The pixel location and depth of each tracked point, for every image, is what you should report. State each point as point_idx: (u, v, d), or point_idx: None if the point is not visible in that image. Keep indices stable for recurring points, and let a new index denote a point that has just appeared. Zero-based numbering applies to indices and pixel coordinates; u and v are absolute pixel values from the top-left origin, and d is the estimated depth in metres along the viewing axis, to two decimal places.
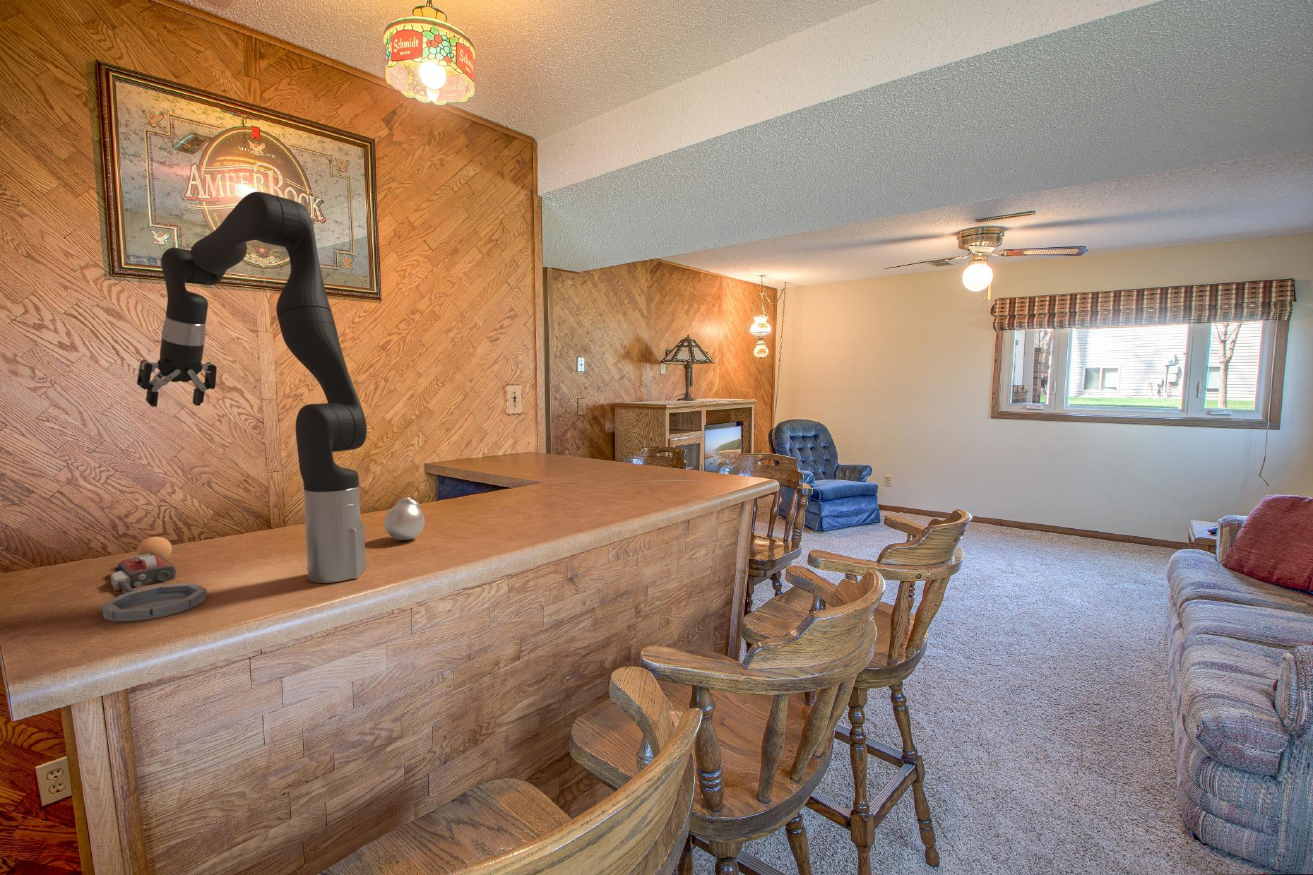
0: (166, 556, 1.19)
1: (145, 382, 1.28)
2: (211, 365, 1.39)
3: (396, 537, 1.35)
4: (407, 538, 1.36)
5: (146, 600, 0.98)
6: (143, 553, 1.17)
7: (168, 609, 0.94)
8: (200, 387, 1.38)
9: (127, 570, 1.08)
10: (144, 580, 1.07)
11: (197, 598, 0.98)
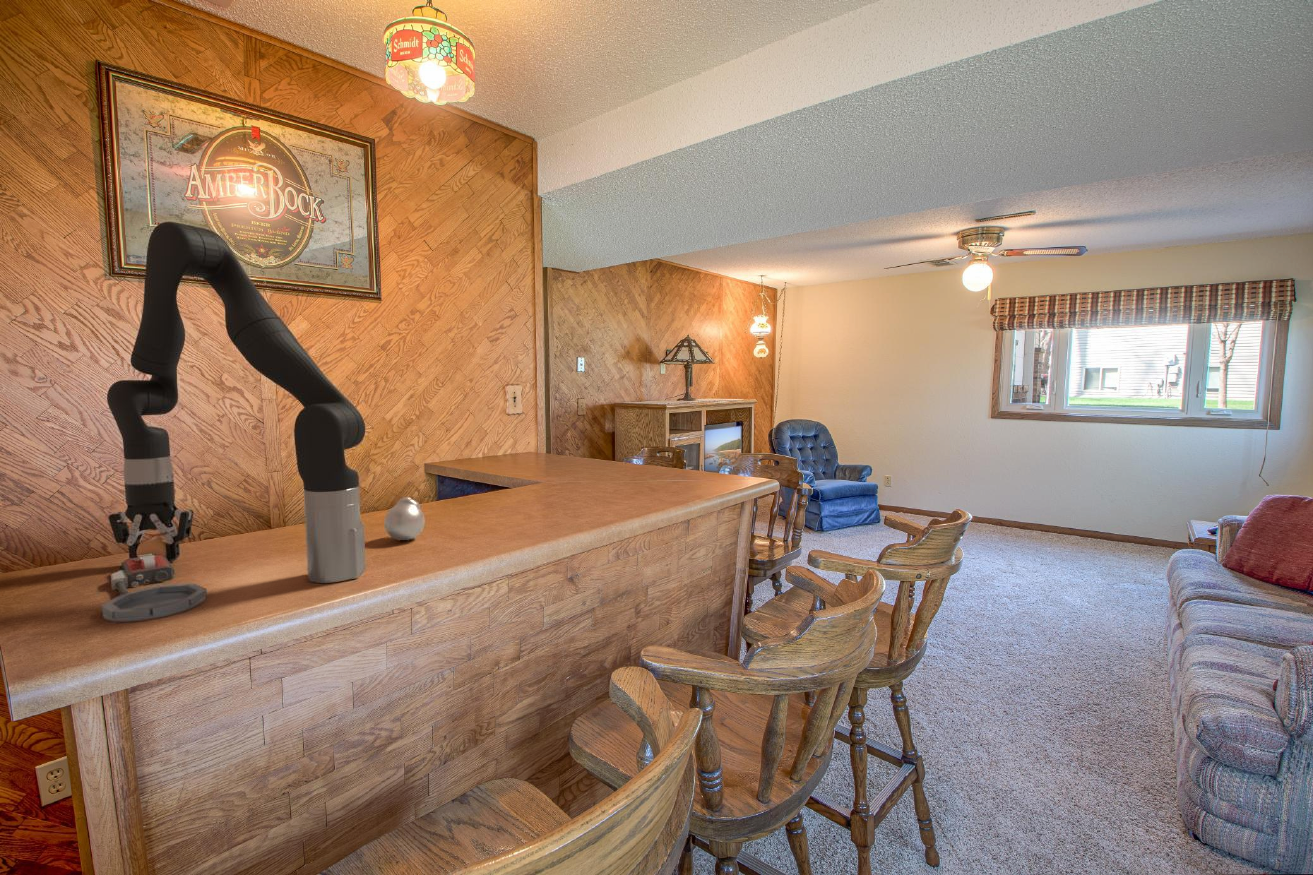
0: (166, 556, 1.19)
1: (117, 535, 1.17)
2: (184, 511, 1.19)
3: (396, 537, 1.35)
4: (407, 538, 1.36)
5: (146, 600, 0.98)
6: (143, 553, 1.17)
7: (168, 609, 0.94)
8: (166, 538, 1.18)
9: (127, 570, 1.08)
10: (142, 580, 1.07)
11: (197, 598, 0.98)
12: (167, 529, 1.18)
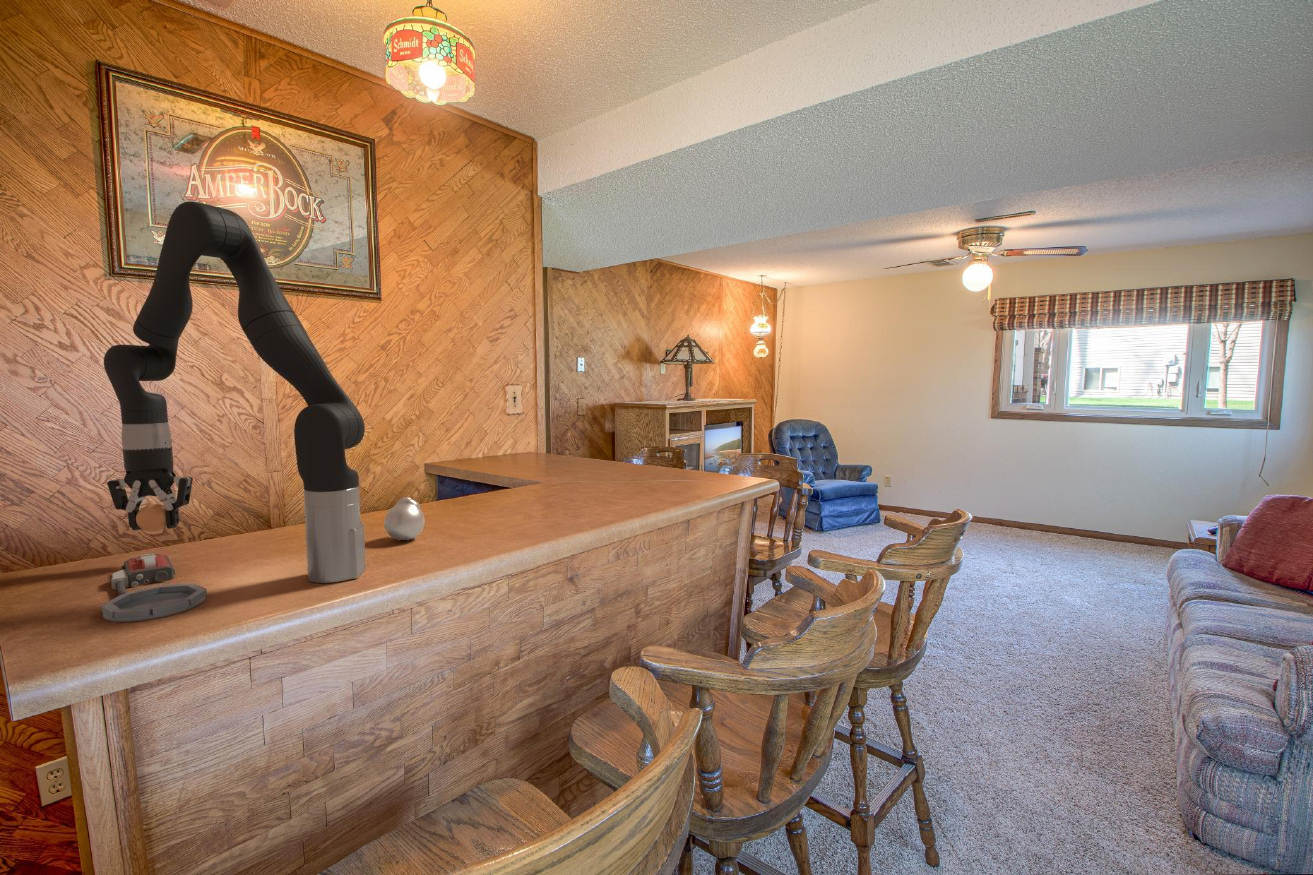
0: None
1: (116, 502, 1.16)
2: (183, 477, 1.19)
3: (396, 537, 1.35)
4: (407, 538, 1.36)
5: (146, 600, 0.98)
6: (142, 519, 1.16)
7: (168, 609, 0.94)
8: (166, 504, 1.18)
9: (128, 569, 1.08)
10: (142, 580, 1.07)
11: (197, 598, 0.98)
12: (166, 495, 1.18)
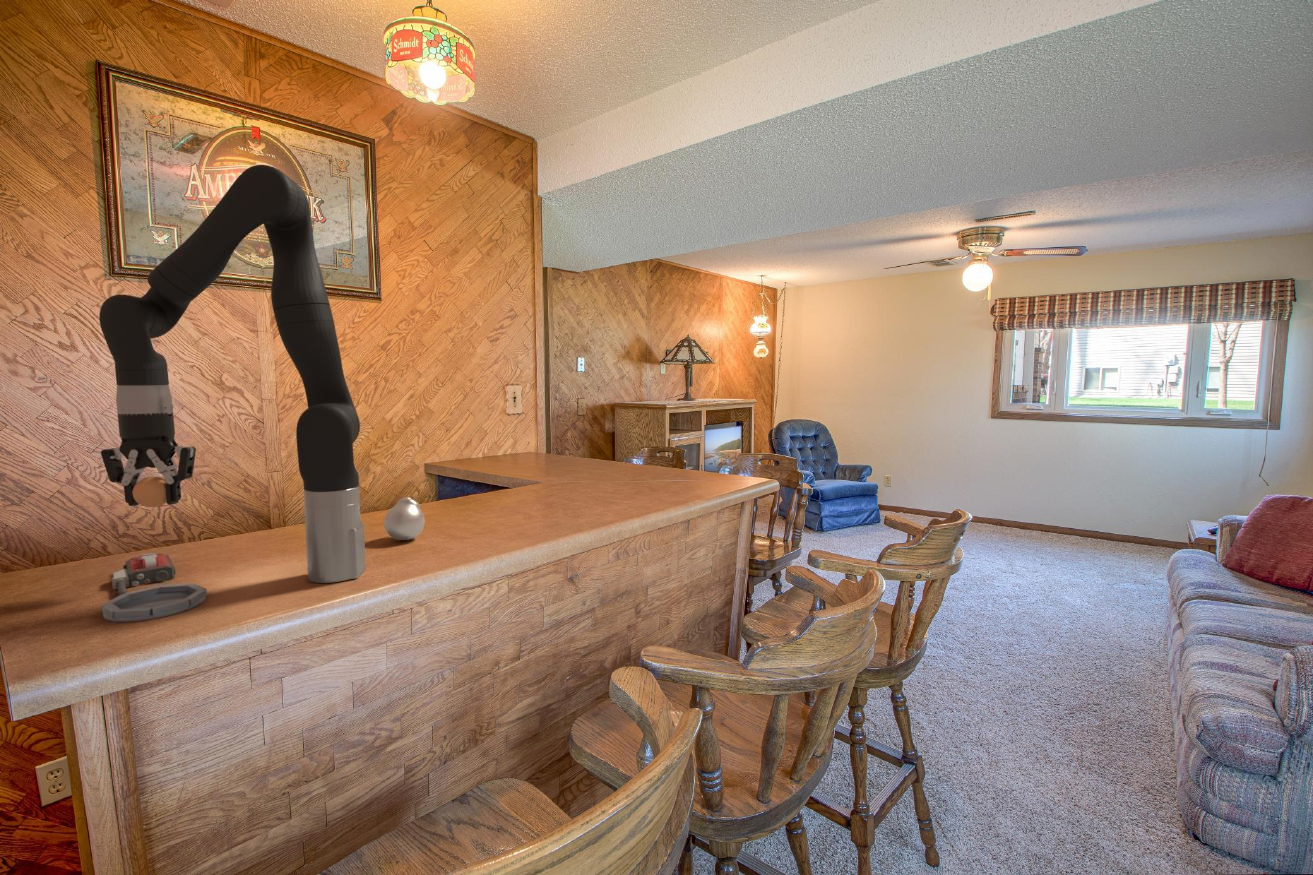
0: (166, 498, 1.06)
1: (110, 473, 1.03)
2: (185, 447, 1.05)
3: (396, 537, 1.35)
4: (407, 538, 1.36)
5: (146, 600, 0.98)
6: (139, 493, 1.03)
7: (168, 609, 0.94)
8: (166, 477, 1.05)
9: (129, 569, 1.09)
10: (142, 580, 1.07)
11: (197, 598, 0.98)
12: (166, 467, 1.05)
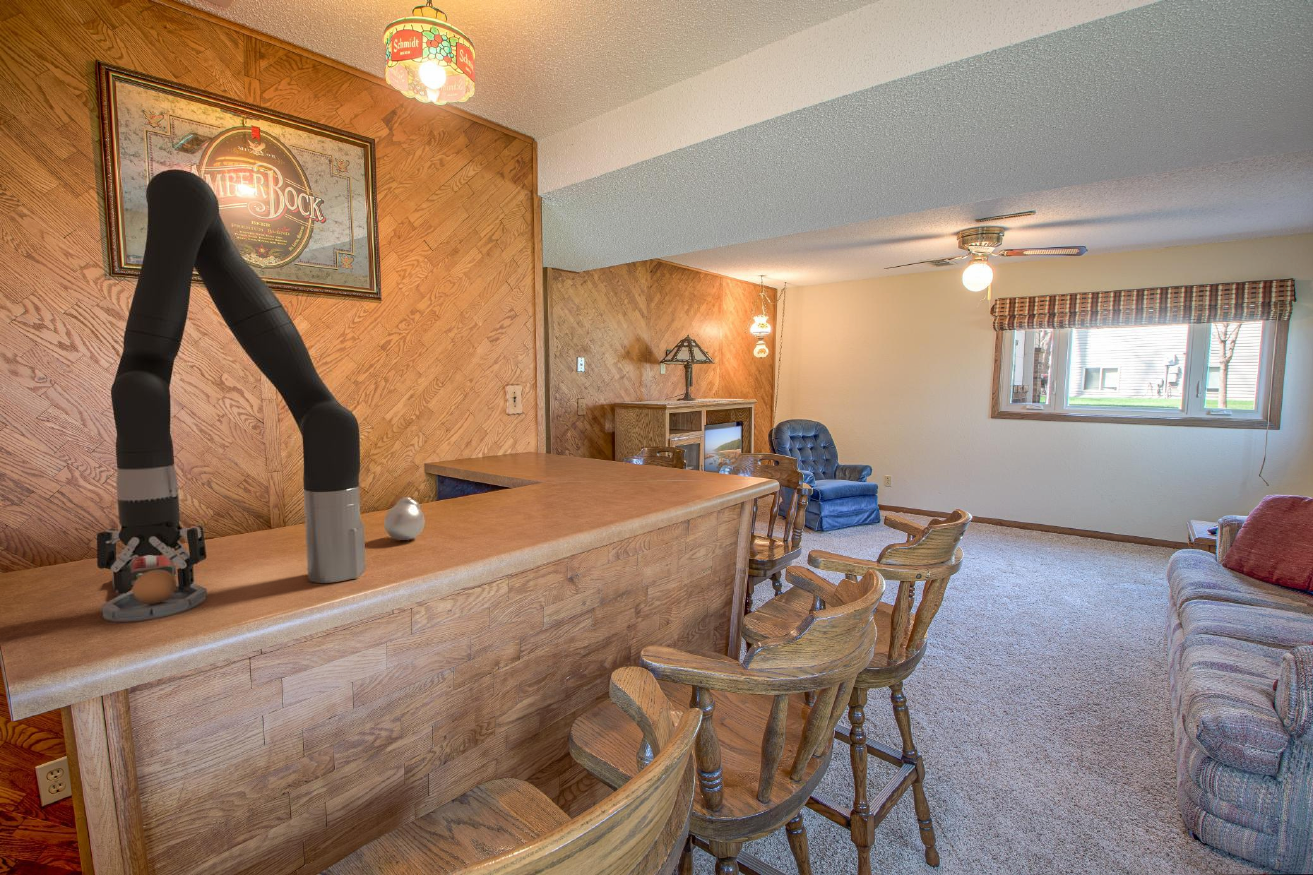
0: (169, 594, 0.97)
1: (100, 559, 0.94)
2: (190, 528, 0.97)
3: (396, 537, 1.35)
4: (407, 538, 1.36)
5: None
6: (141, 591, 0.94)
7: (168, 609, 0.94)
8: (177, 562, 0.96)
9: None
10: None
11: (197, 598, 0.98)
12: (175, 551, 0.96)
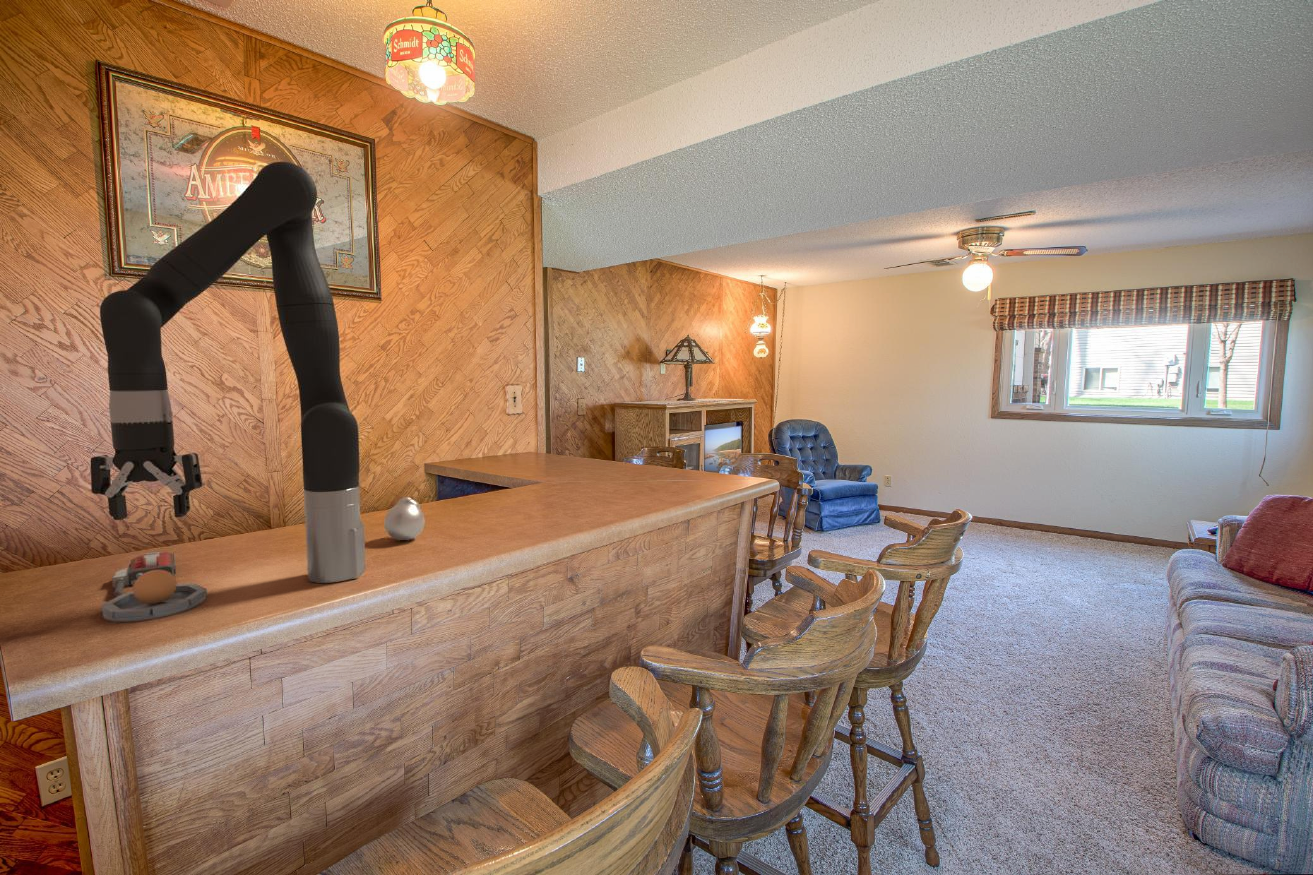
0: (169, 594, 0.97)
1: (94, 484, 0.93)
2: (185, 454, 0.96)
3: (396, 537, 1.35)
4: (407, 538, 1.36)
5: None
6: (141, 591, 0.94)
7: (168, 609, 0.94)
8: (172, 488, 0.95)
9: (130, 568, 1.09)
10: None
11: (197, 598, 0.98)
12: (170, 477, 0.95)
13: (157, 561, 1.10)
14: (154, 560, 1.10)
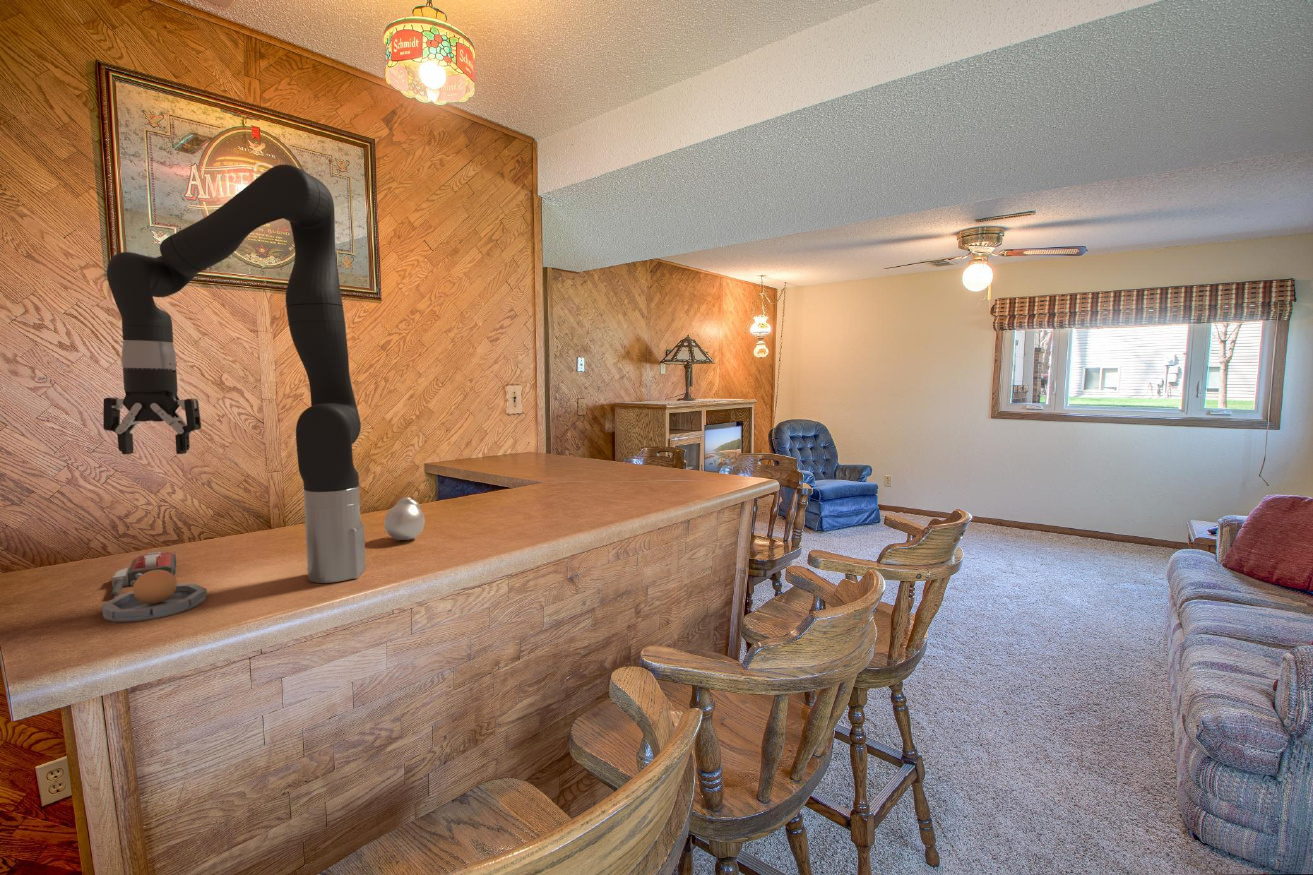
0: (170, 594, 0.97)
1: (106, 421, 1.06)
2: (187, 399, 1.09)
3: (396, 537, 1.35)
4: (407, 538, 1.36)
5: None
6: (141, 591, 0.94)
7: (168, 609, 0.94)
8: (175, 428, 1.09)
9: (131, 568, 1.09)
10: None
11: (197, 598, 0.98)
12: (173, 418, 1.09)
13: (157, 561, 1.10)
14: (154, 560, 1.10)
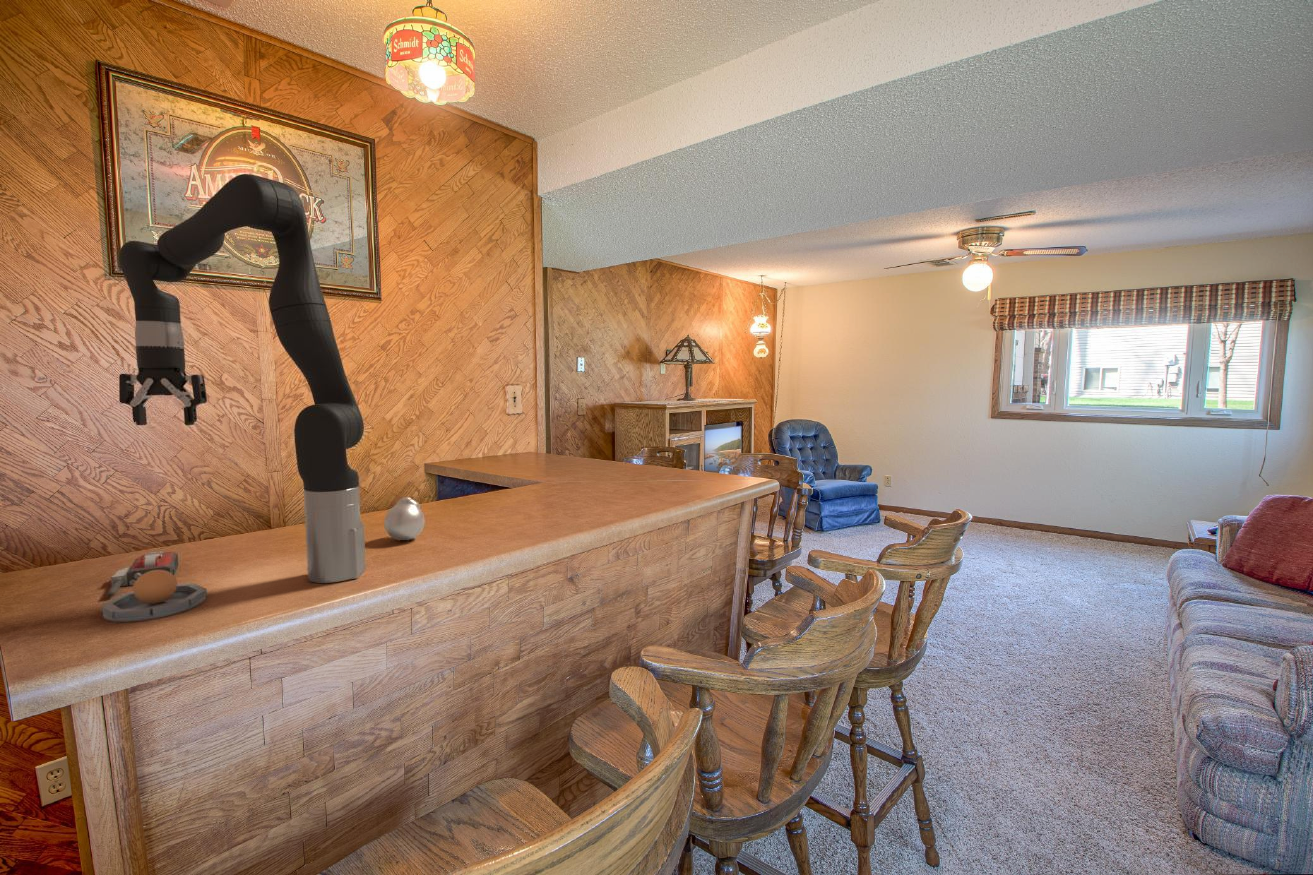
0: (170, 594, 0.97)
1: (122, 395, 1.17)
2: (194, 375, 1.20)
3: (396, 537, 1.35)
4: (407, 538, 1.36)
5: None
6: (142, 591, 0.94)
7: (168, 609, 0.94)
8: (183, 401, 1.19)
9: (131, 567, 1.10)
10: None
11: (197, 598, 0.98)
12: (181, 392, 1.19)
13: (156, 561, 1.10)
14: (153, 560, 1.10)
